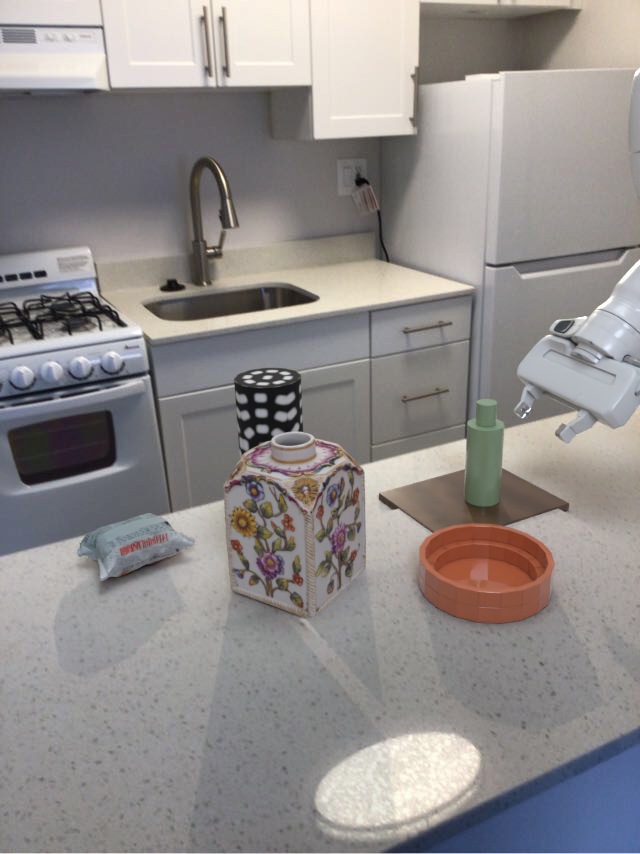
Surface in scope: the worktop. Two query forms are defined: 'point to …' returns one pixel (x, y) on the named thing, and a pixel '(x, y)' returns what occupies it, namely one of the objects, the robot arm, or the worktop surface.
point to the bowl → (486, 572)
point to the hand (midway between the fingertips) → (538, 427)
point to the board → (446, 505)
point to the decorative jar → (295, 522)
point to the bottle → (484, 456)
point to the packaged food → (132, 544)
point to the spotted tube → (267, 405)
